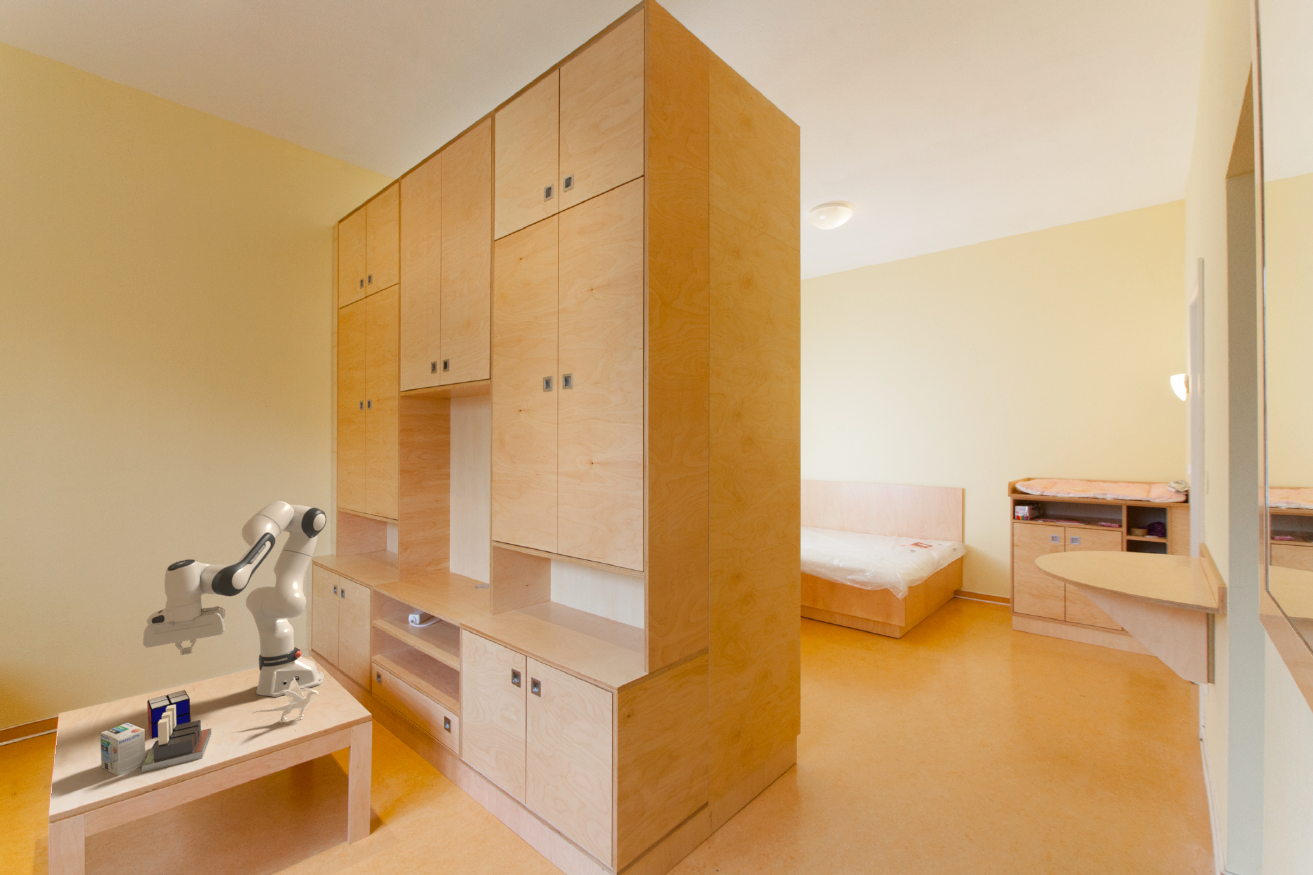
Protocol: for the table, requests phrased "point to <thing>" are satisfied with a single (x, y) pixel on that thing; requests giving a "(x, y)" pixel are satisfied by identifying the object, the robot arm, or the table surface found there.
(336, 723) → the table surface
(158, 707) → the puzzle cube
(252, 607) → the robot arm
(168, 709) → the handle
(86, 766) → the table surface
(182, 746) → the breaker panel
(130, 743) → the light bulb box
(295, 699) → the dragon
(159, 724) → the handle
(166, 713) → the handle
